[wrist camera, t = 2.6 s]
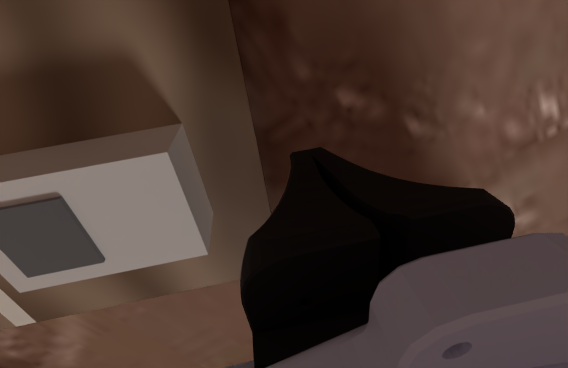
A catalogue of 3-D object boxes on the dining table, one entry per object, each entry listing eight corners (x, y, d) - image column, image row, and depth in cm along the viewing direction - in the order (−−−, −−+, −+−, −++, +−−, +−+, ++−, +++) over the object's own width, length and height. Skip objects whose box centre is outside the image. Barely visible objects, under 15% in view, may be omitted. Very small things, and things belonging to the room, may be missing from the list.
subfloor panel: (219, -46, 10) (217, -51, 9) (280, 258, 18) (282, 270, 18) (-466, 53, 9) (-540, 57, 8) (-62, 329, 17) (-77, 346, 16)
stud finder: (182, 123, 12) (165, 154, 9) (213, 213, 15) (207, 257, 12) (-10, 157, 11) (-87, 200, 9) (58, 243, 14) (16, 297, 11)
